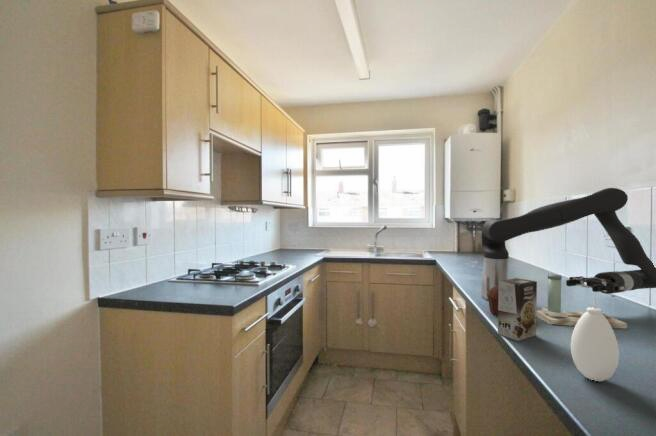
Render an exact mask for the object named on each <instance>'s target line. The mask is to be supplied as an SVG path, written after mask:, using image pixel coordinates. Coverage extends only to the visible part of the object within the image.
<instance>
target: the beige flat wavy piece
mask: <svg viewBox="0 0 656 436" xmlns="http://www.w3.org/2000/svg"><path fill="white" fill-rule="evenodd" d="M562 311H563V310H562ZM563 312H565V313H567V317H557V316H549V315H548V314H546V313H544V312H543V311H542V309H541V310H540V309H536V318H539V319H540V318H541V319H540V320H541V321H543V320H544V321H543V322H545V323H546V322H547V324H548V325H552V324H556V325H557V326H572V327H573V326H574V327H575V326H576V324H577V322H578V320H579V319H580V317H581V316H582V315H583V314H584V313H586V312H587V311H584V312H583V311H581V312H580V311H563ZM602 314H603V315H604V316H605V318H606V319H607V320H608V322H609V324H610V325H611V327H612V329H628V323H627V322H625V321H621V320H620V319H617V318H616V317H613V316H610V315H609V314H606V313H604V312H602Z"/></svg>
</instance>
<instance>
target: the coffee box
mask: <svg viewBox="0 0 656 436" xmlns="http://www.w3.org/2000/svg"><path fill="white" fill-rule="evenodd" d="M537 284H538V281H535V280H531V279H525V278H518V277H515V278H508V279H507V280H500V281H499V296H498V316H497V334H498V335H499V336H504V337H506V338H507V339H511V340H513V341H516V342H520V341H523V340H526V339H529V338H532V337H537V316H536V310H537V308H538V307H537V306H538V305H537V299H538V298H537V297H538V296H537V294H538V292H537V291H538V289H537V288H538V287H537V286H538V285H537Z"/></svg>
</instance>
